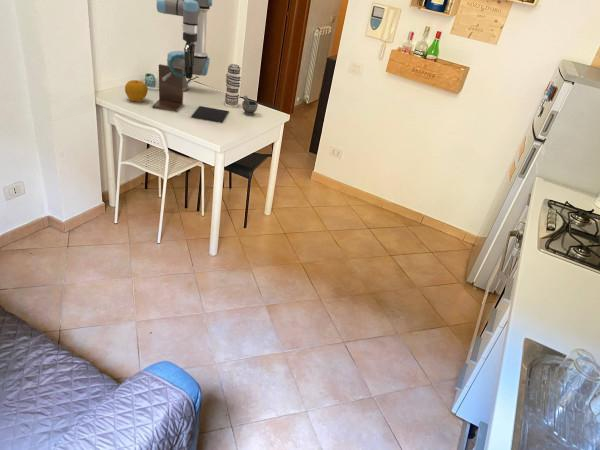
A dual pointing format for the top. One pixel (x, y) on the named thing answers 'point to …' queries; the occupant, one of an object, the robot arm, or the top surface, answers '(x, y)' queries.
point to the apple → (136, 90)
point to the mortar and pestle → (249, 106)
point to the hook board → (169, 89)
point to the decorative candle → (232, 85)
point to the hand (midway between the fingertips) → (189, 77)
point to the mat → (210, 114)
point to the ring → (172, 65)
